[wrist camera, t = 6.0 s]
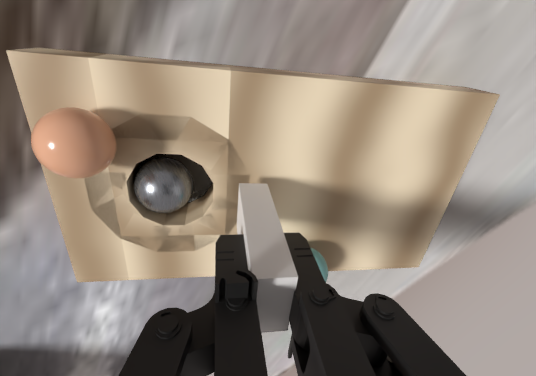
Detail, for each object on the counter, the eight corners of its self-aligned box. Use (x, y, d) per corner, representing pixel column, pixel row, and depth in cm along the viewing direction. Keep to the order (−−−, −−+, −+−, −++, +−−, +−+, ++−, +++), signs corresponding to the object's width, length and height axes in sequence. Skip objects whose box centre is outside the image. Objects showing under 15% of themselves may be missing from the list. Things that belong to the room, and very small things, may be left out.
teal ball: (323, 236, 19) (340, 269, 16) (315, 269, 20) (329, 304, 18) (279, 237, 18) (289, 271, 16) (274, 271, 20) (282, 307, 17)
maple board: (465, 87, 18) (499, 94, 16) (400, 246, 24) (418, 267, 22) (40, 47, 13) (6, 50, 11) (92, 254, 20) (77, 282, 17)
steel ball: (203, 163, 15) (145, 179, 13) (203, 211, 17) (152, 231, 15) (174, 145, 17) (120, 156, 15) (177, 189, 19) (128, 204, 17)
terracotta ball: (119, 102, 13) (95, 120, 10) (128, 162, 14) (109, 191, 12) (46, 98, 12) (0, 115, 10) (63, 160, 14) (26, 190, 11)
